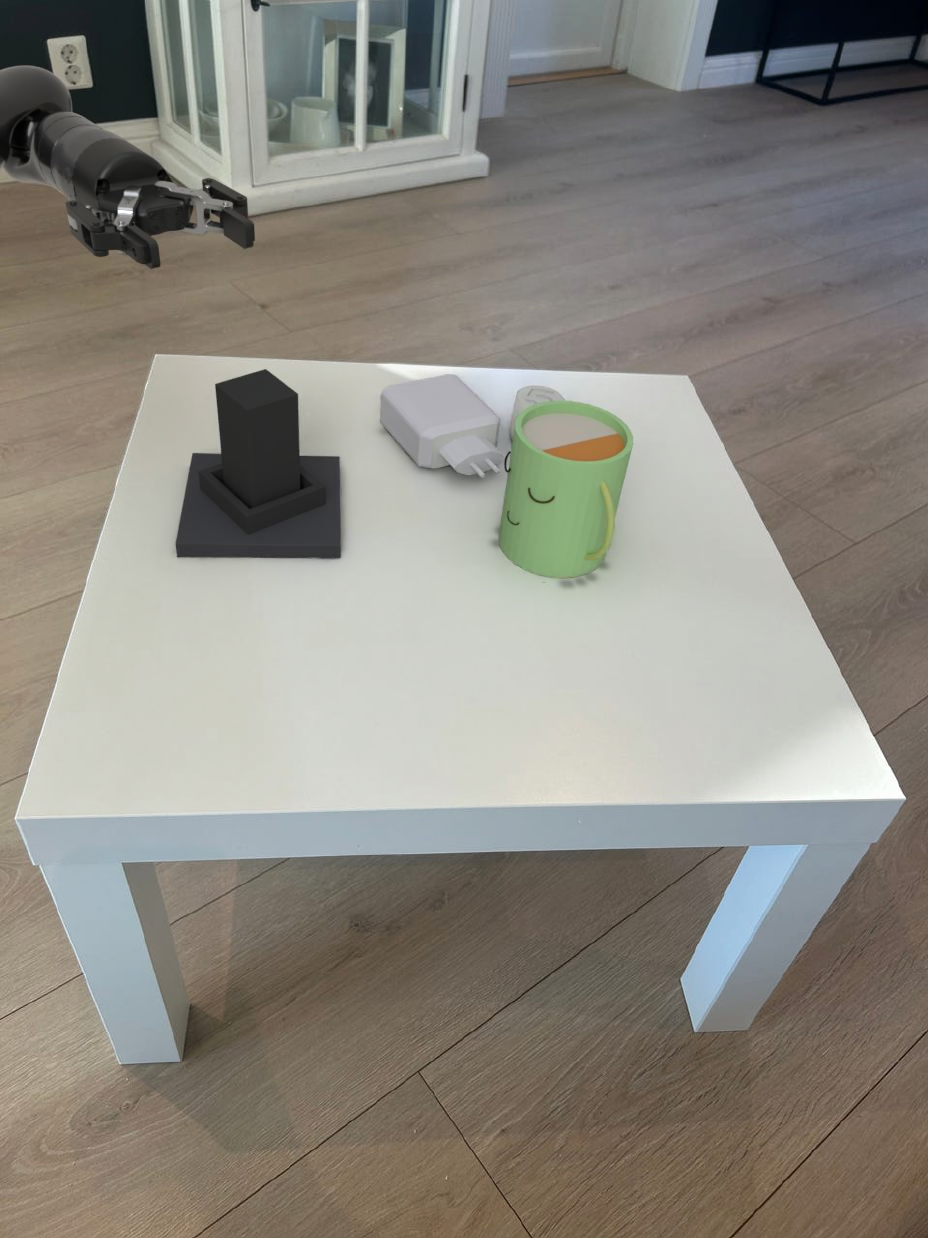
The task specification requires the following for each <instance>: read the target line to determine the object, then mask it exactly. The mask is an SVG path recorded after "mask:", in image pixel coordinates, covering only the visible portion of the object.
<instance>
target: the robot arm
mask: <svg viewBox="0 0 928 1238" xmlns="http://www.w3.org/2000/svg"><path fill="white" fill-rule="evenodd" d="M69 90H70V89H68V87H67V85H66V84H65V83H64V82H63V81H62V79H61V78H60V77H58V76H57V75H56V74H55V73H53V72H52V71H49V70H48V69H45V68H43V67H40V66H35V65H14V66H10V67H6V68H3V69H0V171H2V169H3V171H4V172H5V173H6V174H7V175H8V176H9V178H11V179H13V180H14V181H17V182H19V183H22V184H26V185H30V186H37V187H39V186H40V187H41V186H42V187H50V188H53V189H55V190H56V191H58V192H59V193H60V194H62V195H63V196H64V197H65V198H66V199H67V201H66V202H65V208H66V213H67V214H66V215H67V220H68V224H69V229H70V234H71V235H72V236H73V237H74V238H75V239H76V240H77V242H79V243H81V245H83V246H84V248H86V249H87V250H88V251H89V252H90V253H91V254H92V255H93V256H95V257H97V258H105V257H108V256H109V255H110V251H117V254H118V255H119V256H128V257H130V258H131V259H132V260H134V261H135V262H136V263H137V264H140V265H145V266H146V267H148V269H150V270H154V269H158V268H161V263H162V262H161V257H160V256H161V255H160V247H159V244H158V241H157V240H156V239H155V238H153V237H152V236H157V235H161V234H164V233H167V234H175V233H176V232H178V233H184V234H189V235H194V236H201V237H203V236H205V235H207V233H209V232H210V233H214V234H221V235H223V236H224V237H226V238H227V239H229V240H230V241H232V242H233V243H234V244H236V245H238V246H239V247H241V248H242V249H243V250H246V249H251V248H253V247H254V245H255V244H254V243H255V241H256V233H255V223H254V221H252V220H251V219H249V206H248V197H247V196H246V195H244V194H242V193H240V192H238V191H236V190H234V188H231V187H229V186H227V185H225V184H223V183H222V182H220V181H218V180H217V179H214V178H211V177H206V178H205V177H204V178H203V179H202V180H201V185H202V188H200V189H194V188H188V187H187V186H185V185H180V184H177V183H175V182H174V181H173V180H172V178H171V176H170V175H169V173H168V172H167V170H166V169H165V168H164V166H163V165H162V164H161V162H159V160H157V159H156V158H154V157H153V156H151V155H150V154H149V153H146V152H145V151H143V150H142V149H140V148H139V147H137V146H135V145H134V144H132V143H131V142H129V141H128V140H126V139H124V138H123V137H121V136H120V135H118V134H116V133H114V132H112V131H110V130H107V129H104V128H102V127H100V126H99V125H98V124H96V123H94V122H93V121H91V120H89V118H86V117H84V116H83V115H80V114H78V113H75V112H73V102H72V96H71V93H70V91H69ZM194 209H195V220H196V222H191V219H192V215H193V212H194ZM211 215H214V216H215V217H218V218H219V221H214V220H212V219H211Z"/></svg>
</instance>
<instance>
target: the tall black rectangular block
mask: <svg viewBox="0 0 928 1238" xmlns="http://www.w3.org/2000/svg"><path fill="white" fill-rule="evenodd" d="M214 389H215V399H216V412H217V422H218V433H219V434H218V435H219V444H220V454H221V457H222V468H223V479H224V486H225V487H226V488H227V489H228V490H230V491H231V492H232V493H233V494H234V495H235V496H236V497H237V498H238V499H239V500H240V501H241V502H242V503H244V504H245V505H246V506H247V507H248V508H249V509H252V508H254V507H257V506H260V505H262V504H265V503H268V502H270V501H273V500H276V499H278V498H281V497H283V496H286V495H289V494H291V493H294V492H297V491H299V490H300V455H301V454H300V420H299V419H300V417H299V416H300V415H299V413H300V412H299V393H298V392H297V391H295V390H294V389H293V388H291V387H290V386H288V385H287V384H286V383H285V382H283V381H282V380H281V379H280V378H278V376H276V375H274V374H273V372H271V371H269V370H268V369H267V368H265V369H261V370H258V371H254V372H250V373H247V374H244V375H241V376H237V377H234V378H233V377H232V378H230V379H226V380H223V381H220V382H217V383H215V384H214Z"/></svg>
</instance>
